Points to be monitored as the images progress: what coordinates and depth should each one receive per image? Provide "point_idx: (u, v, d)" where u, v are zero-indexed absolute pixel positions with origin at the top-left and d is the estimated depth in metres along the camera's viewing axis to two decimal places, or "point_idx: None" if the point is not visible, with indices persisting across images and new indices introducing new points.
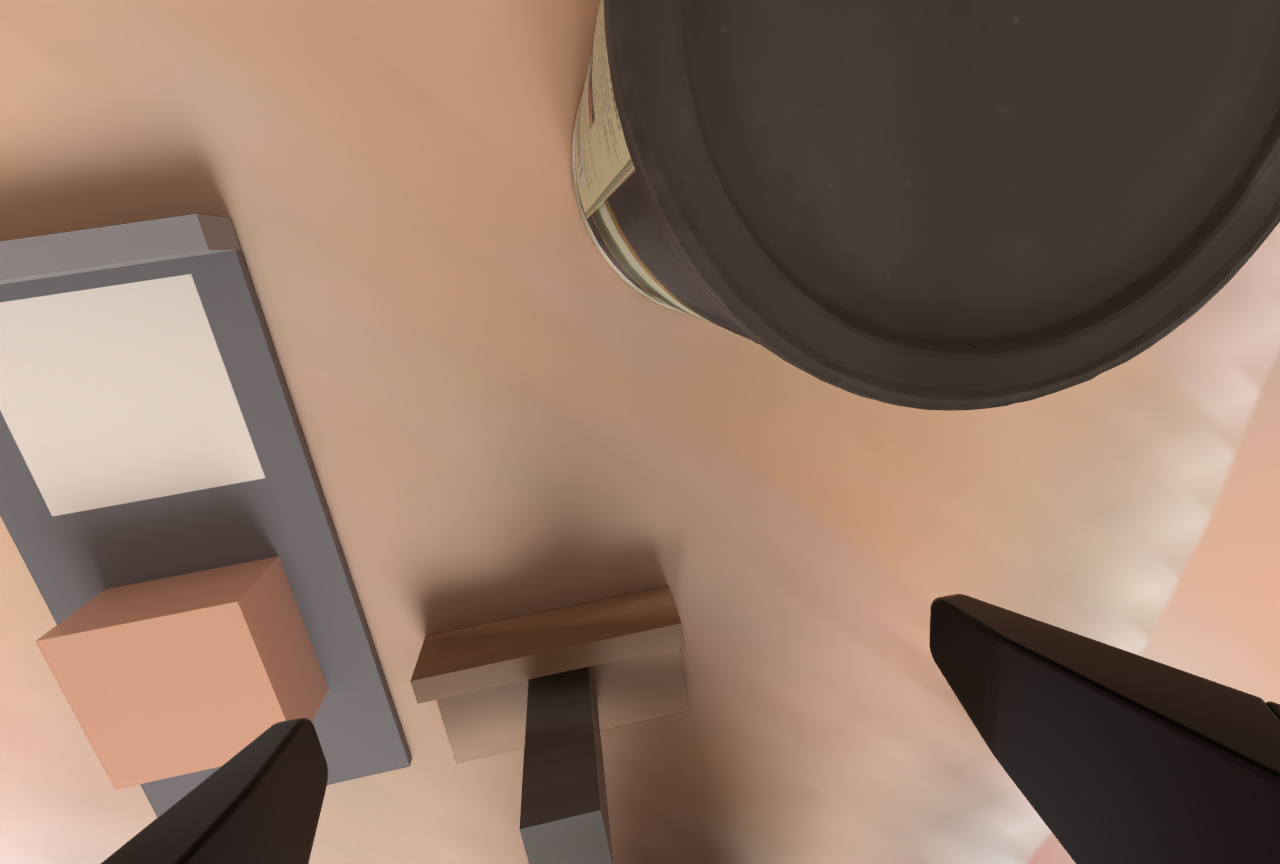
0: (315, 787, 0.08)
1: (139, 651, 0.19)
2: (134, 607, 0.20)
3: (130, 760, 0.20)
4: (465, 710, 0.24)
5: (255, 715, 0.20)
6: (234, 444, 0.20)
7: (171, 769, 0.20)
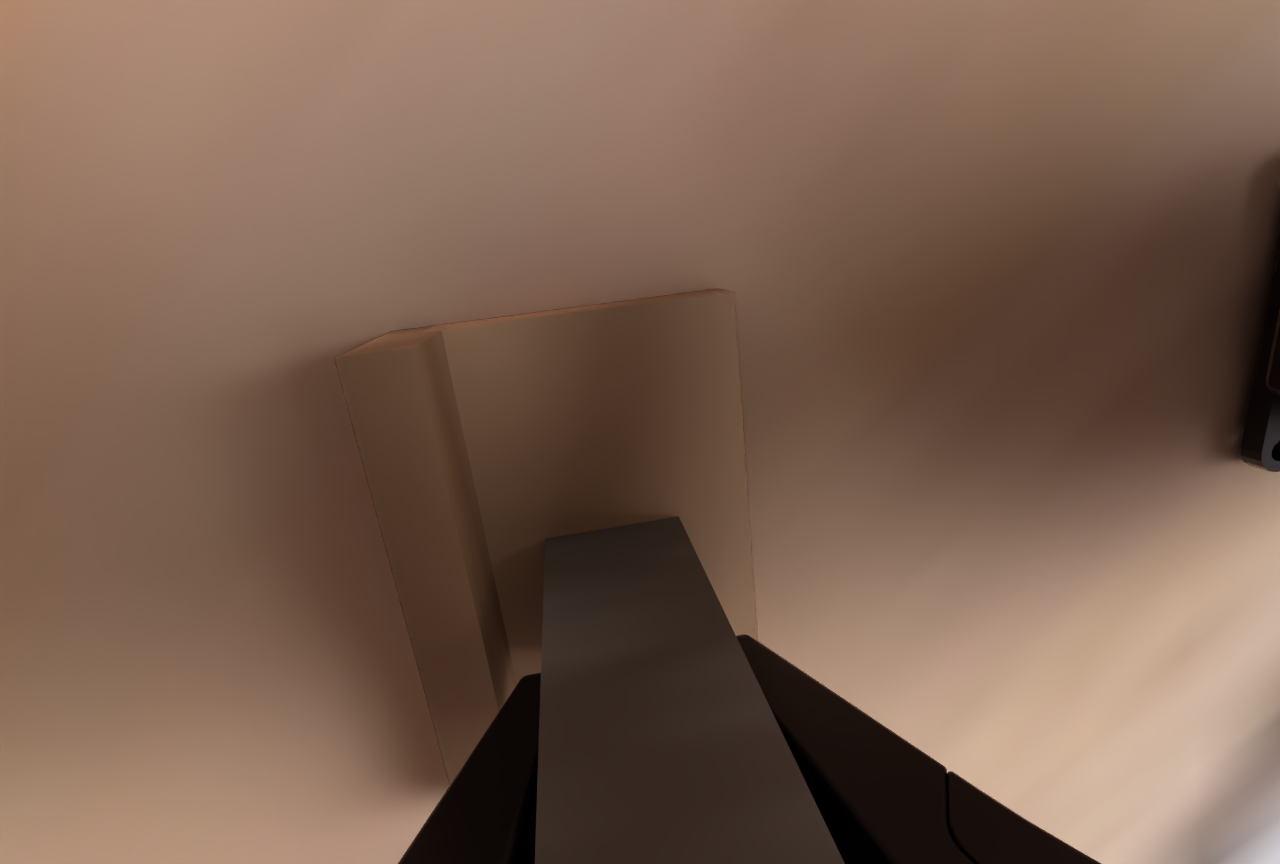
0: None
1: None
2: None
3: None
4: None
5: None
6: None
7: None
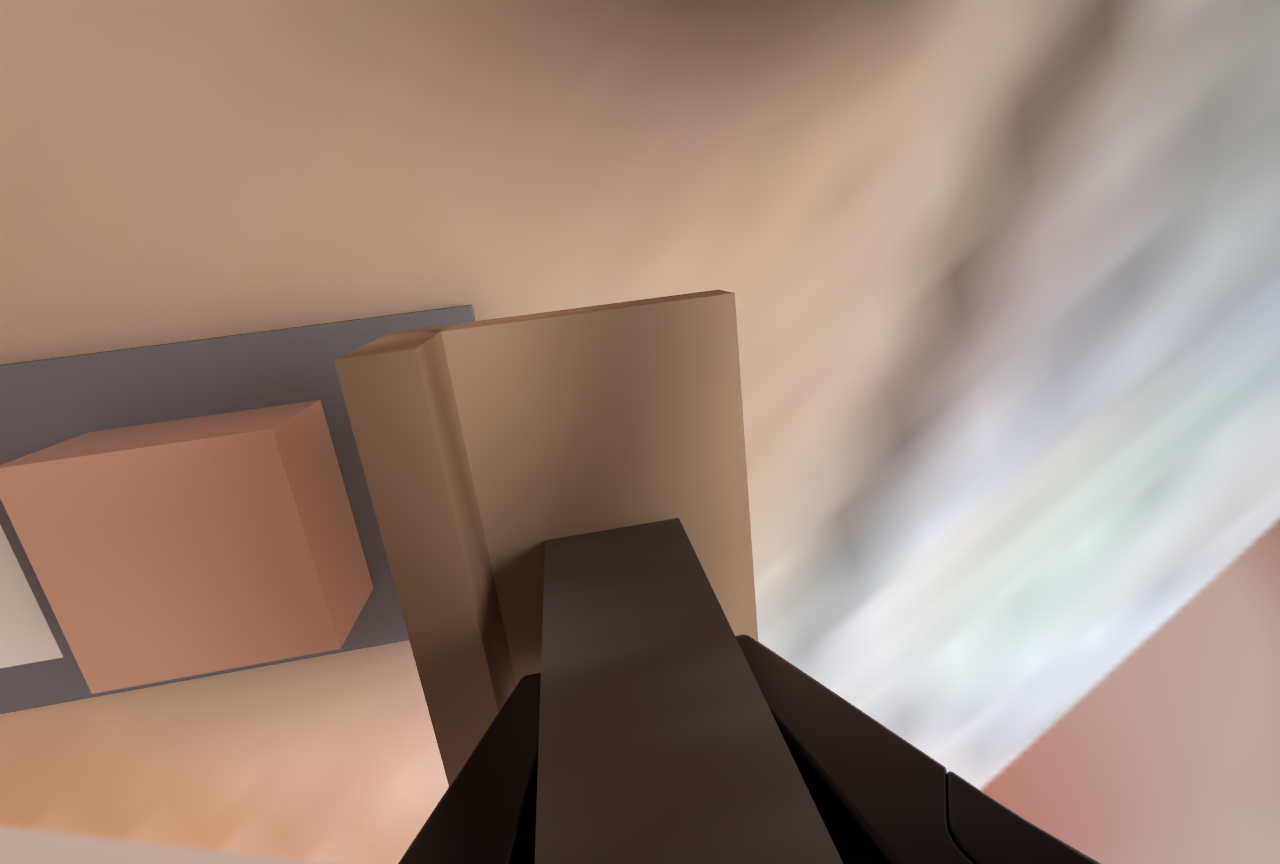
0: None
1: (96, 593, 0.14)
2: None
3: (290, 627, 0.15)
4: None
5: (205, 475, 0.14)
6: None
7: (307, 586, 0.15)
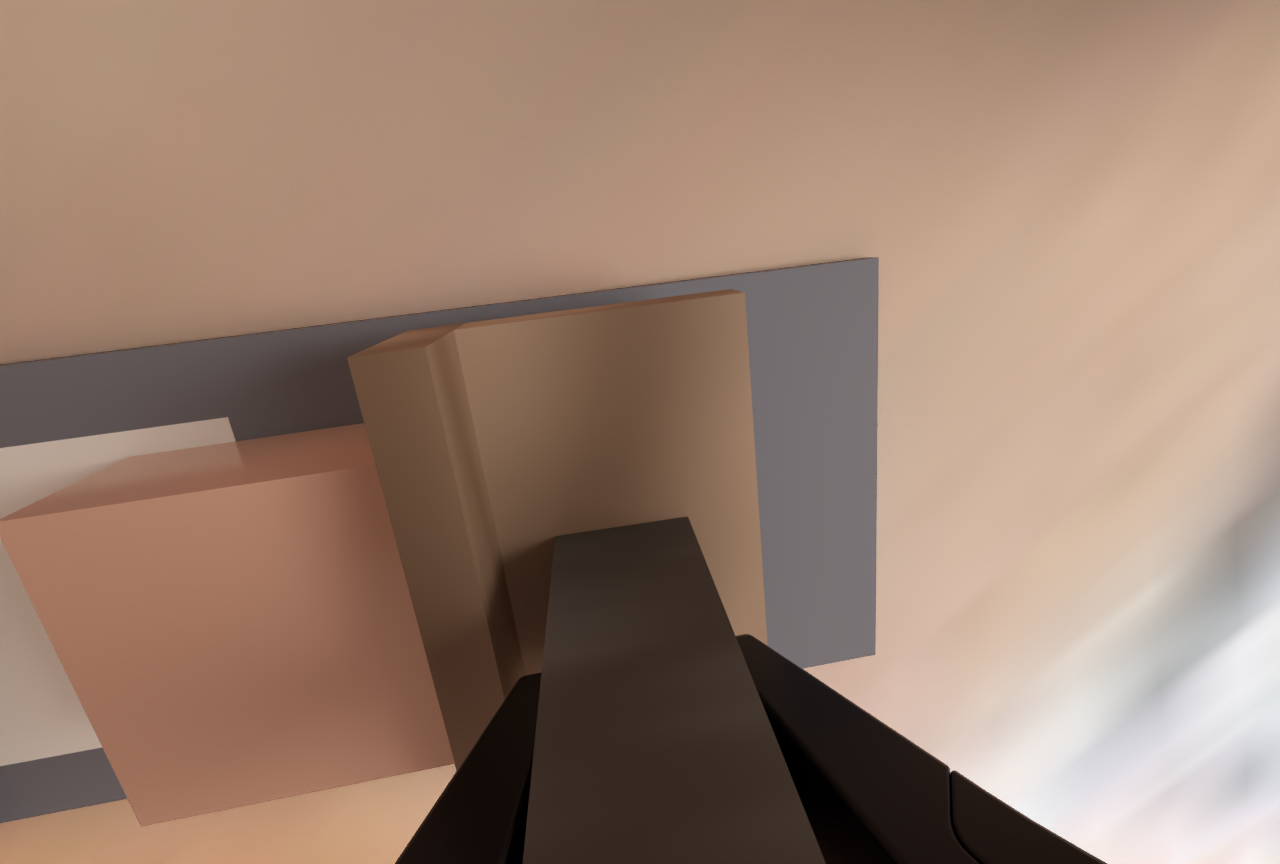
0: None
1: (149, 694, 0.10)
2: None
3: (415, 731, 0.11)
4: None
5: (310, 527, 0.10)
6: None
7: None
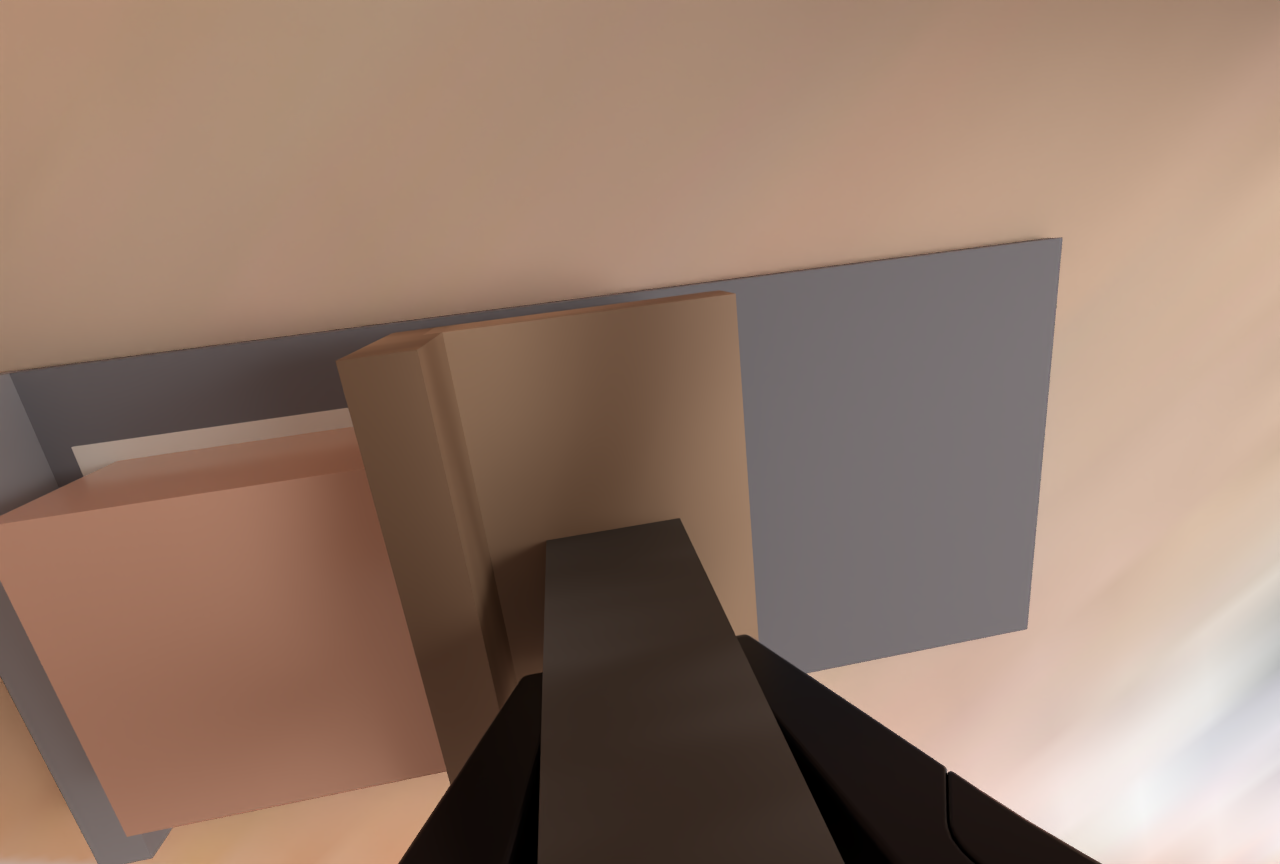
0: None
1: (135, 701, 0.10)
2: None
3: (406, 739, 0.11)
4: None
5: (298, 531, 0.09)
6: None
7: None
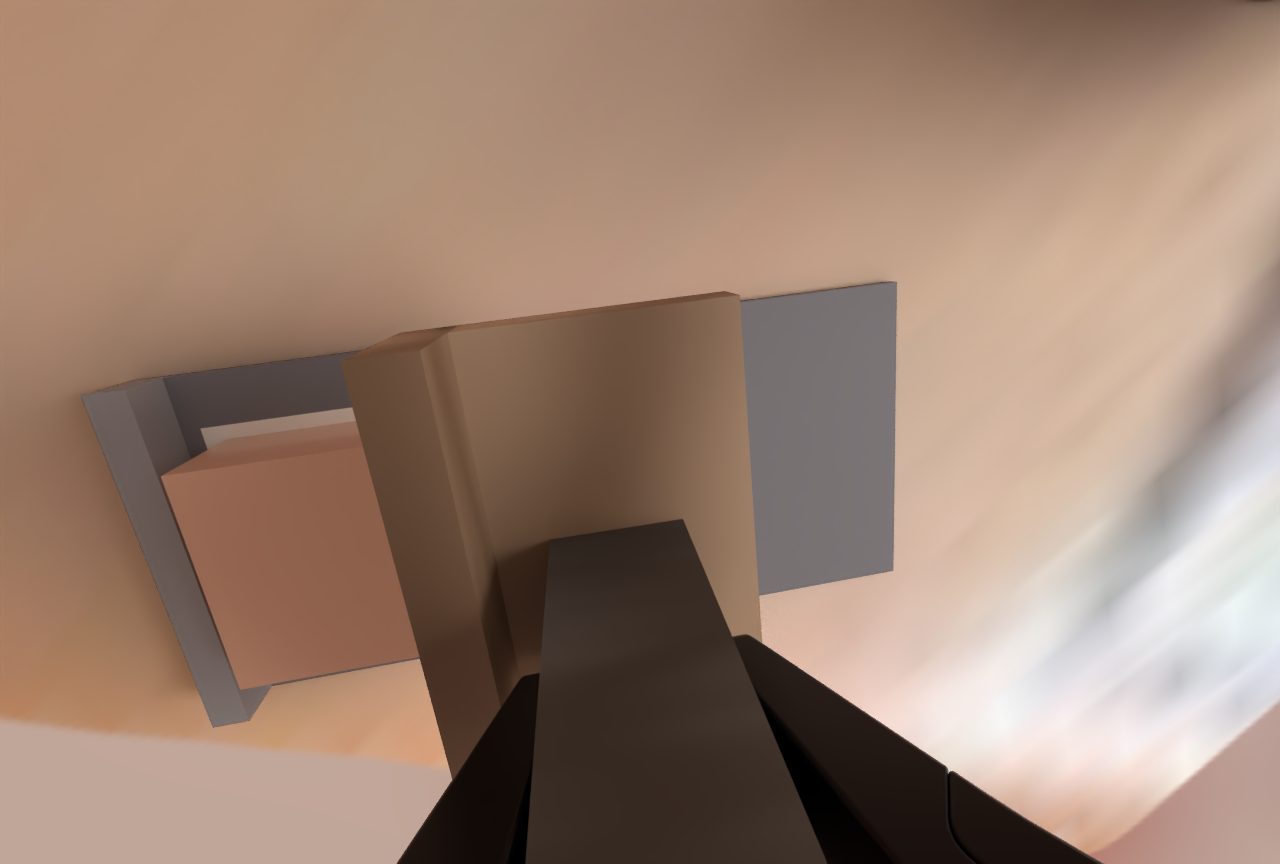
0: None
1: (251, 594, 0.15)
2: None
3: None
4: None
5: (361, 481, 0.15)
6: None
7: None
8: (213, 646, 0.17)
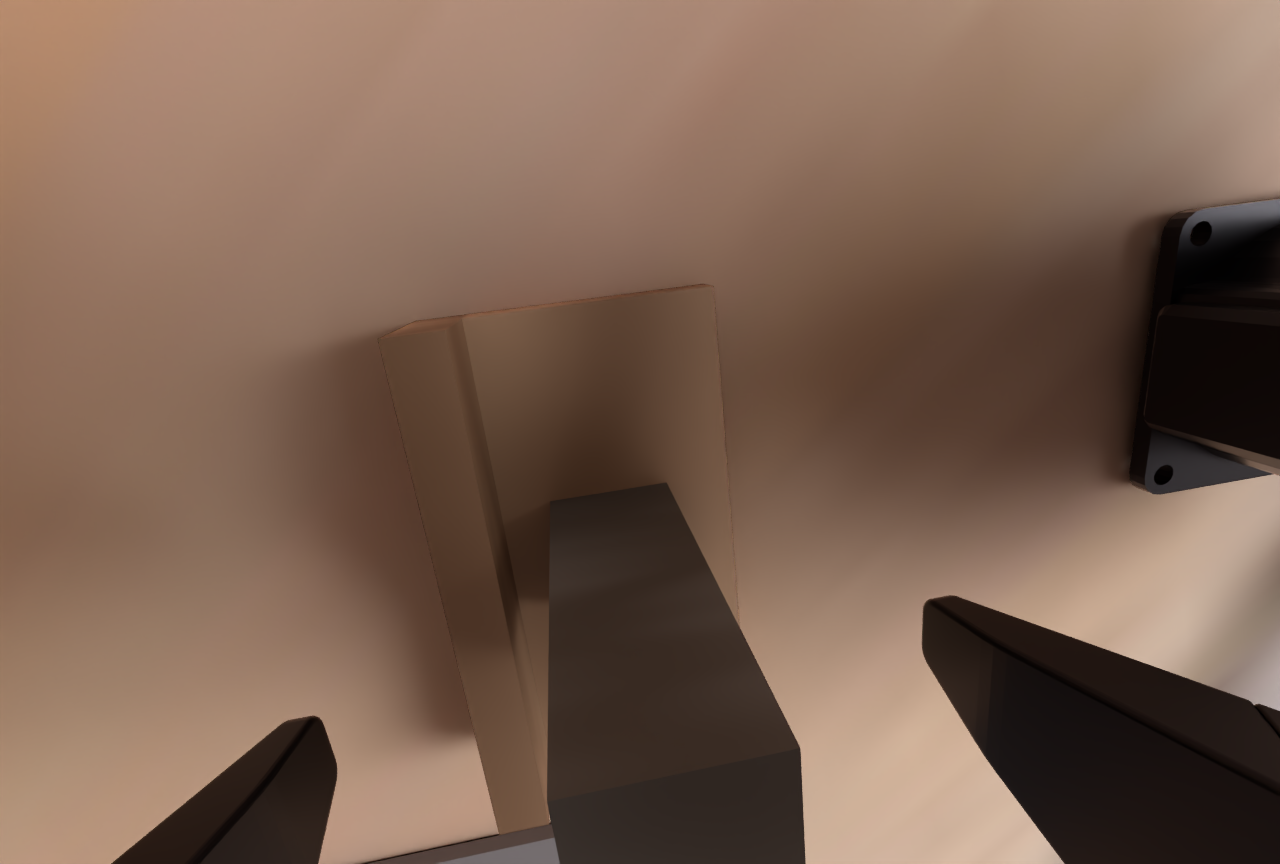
0: (325, 785, 0.08)
1: None
2: None
3: None
4: None
5: None
6: None
7: None
8: None
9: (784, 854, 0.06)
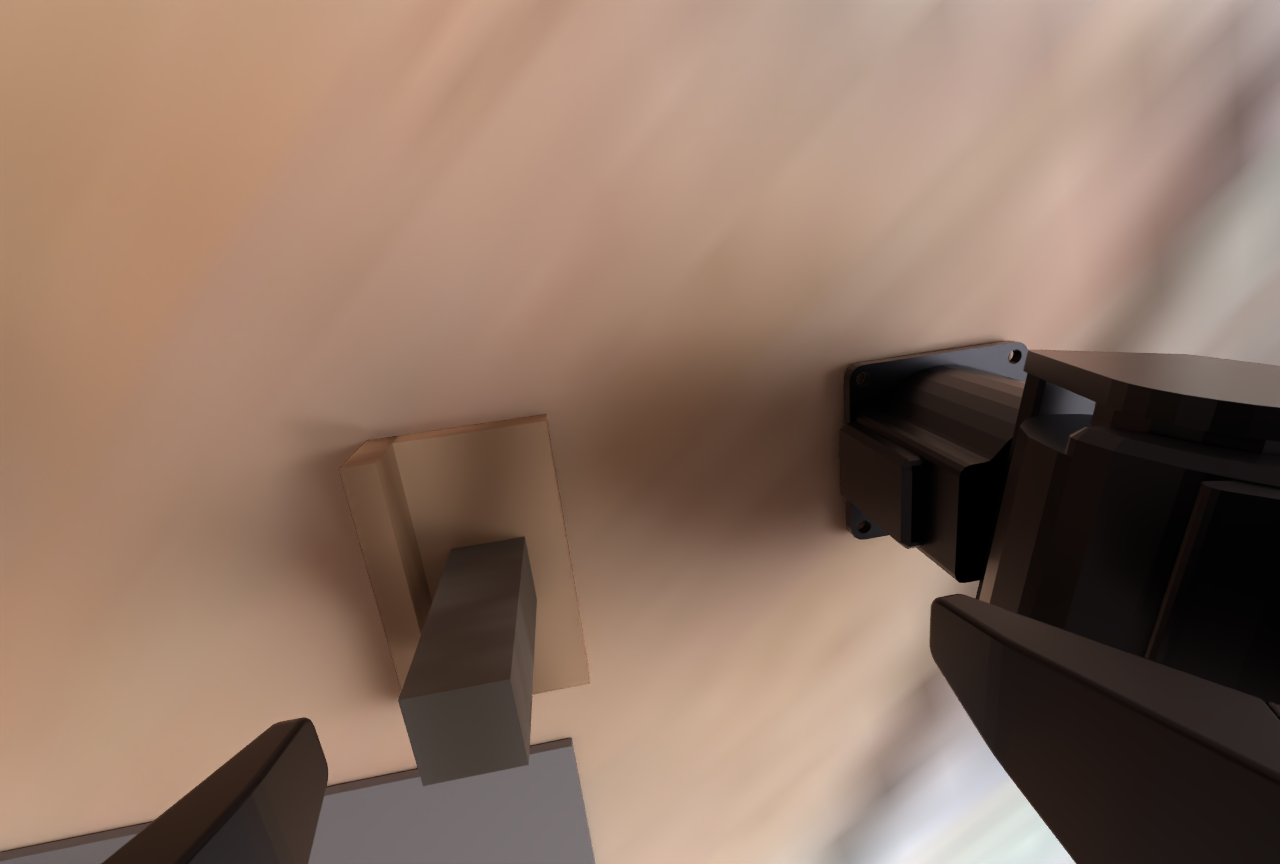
0: (315, 787, 0.08)
1: None
2: None
3: None
4: None
5: None
6: None
7: None
8: None
9: (511, 728, 0.13)
